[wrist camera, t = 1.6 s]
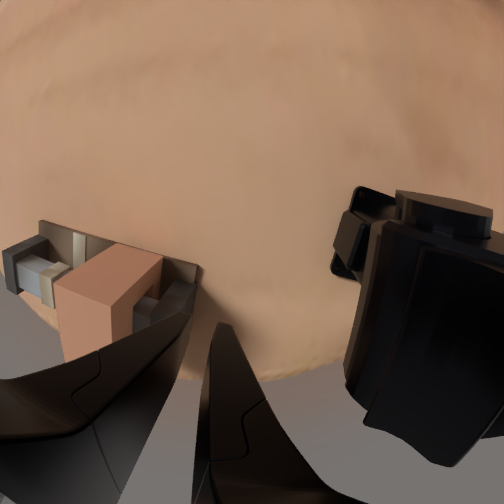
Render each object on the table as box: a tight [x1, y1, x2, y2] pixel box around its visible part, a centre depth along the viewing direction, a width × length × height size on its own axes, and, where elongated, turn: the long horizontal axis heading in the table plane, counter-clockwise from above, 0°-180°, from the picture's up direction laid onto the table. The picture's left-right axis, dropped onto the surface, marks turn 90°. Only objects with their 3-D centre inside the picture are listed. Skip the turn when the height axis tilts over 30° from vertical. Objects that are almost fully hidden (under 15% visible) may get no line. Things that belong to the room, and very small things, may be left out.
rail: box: [2, 220, 198, 333], centre depth 19 cm, size 16×6×5 cm, turn 76°
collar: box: [53, 243, 163, 362], centre depth 17 cm, size 4×7×8 cm, turn 166°
